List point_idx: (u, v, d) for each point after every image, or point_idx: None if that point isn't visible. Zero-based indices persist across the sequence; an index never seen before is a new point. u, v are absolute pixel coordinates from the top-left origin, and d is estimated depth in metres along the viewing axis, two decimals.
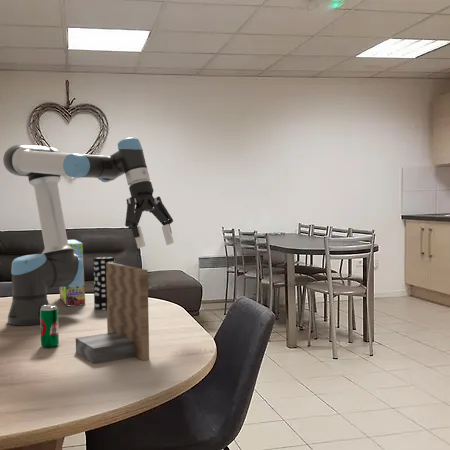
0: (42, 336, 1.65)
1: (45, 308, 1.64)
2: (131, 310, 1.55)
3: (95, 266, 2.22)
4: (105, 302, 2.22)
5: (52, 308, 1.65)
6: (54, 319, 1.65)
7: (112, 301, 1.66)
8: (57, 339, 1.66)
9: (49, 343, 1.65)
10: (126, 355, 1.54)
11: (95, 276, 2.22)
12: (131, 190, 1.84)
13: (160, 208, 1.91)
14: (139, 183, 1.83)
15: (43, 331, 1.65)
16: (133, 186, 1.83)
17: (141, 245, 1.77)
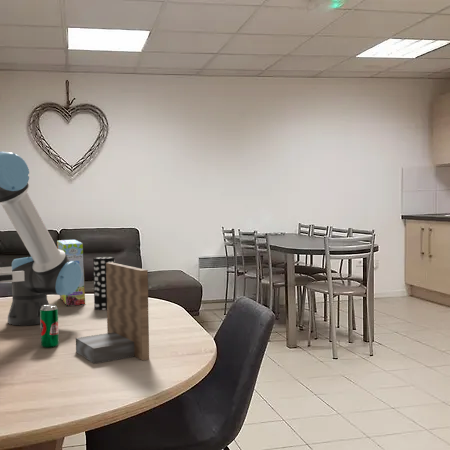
0: (42, 336, 1.65)
1: (45, 308, 1.64)
2: (131, 310, 1.55)
3: (95, 266, 2.22)
4: (105, 302, 2.22)
5: (52, 308, 1.65)
6: (54, 319, 1.65)
7: (112, 301, 1.66)
8: (57, 339, 1.66)
9: (49, 343, 1.65)
10: (126, 355, 1.54)
11: (95, 276, 2.22)
12: None
13: None
14: None
15: (43, 331, 1.65)
16: None
17: None
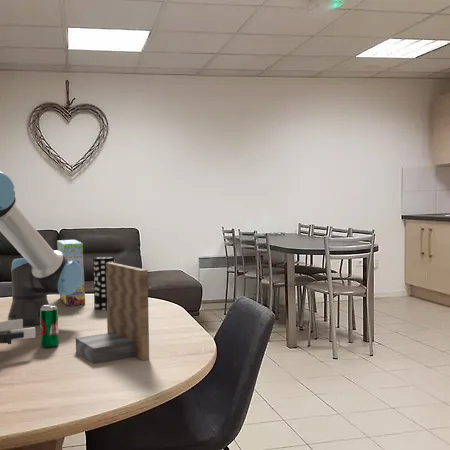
0: (42, 336, 1.65)
1: (45, 308, 1.64)
2: (131, 310, 1.55)
3: (95, 266, 2.22)
4: (105, 302, 2.22)
5: (52, 308, 1.65)
6: (54, 319, 1.65)
7: (112, 301, 1.66)
8: (57, 339, 1.66)
9: (49, 343, 1.65)
10: (126, 355, 1.54)
11: (95, 276, 2.22)
12: None
13: None
14: None
15: (43, 331, 1.65)
16: None
17: None
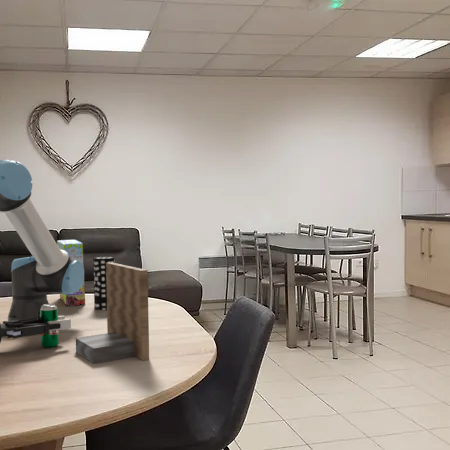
0: (42, 336, 1.65)
1: (45, 308, 1.64)
2: (131, 310, 1.55)
3: (95, 266, 2.22)
4: (105, 302, 2.22)
5: (52, 308, 1.65)
6: (54, 319, 1.65)
7: (112, 301, 1.66)
8: (57, 339, 1.66)
9: (49, 343, 1.65)
10: (126, 355, 1.54)
11: (95, 276, 2.22)
12: None
13: None
14: None
15: None
16: None
17: None
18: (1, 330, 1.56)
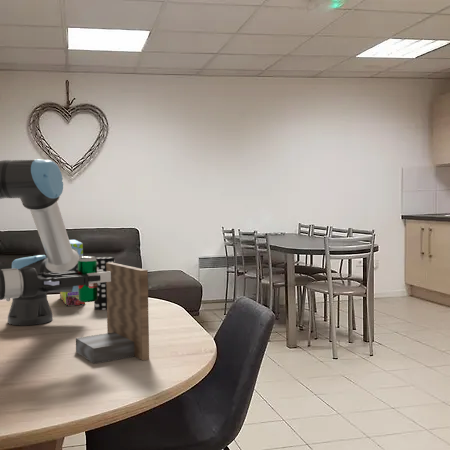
0: (80, 289, 1.52)
1: (83, 259, 1.52)
2: (131, 310, 1.55)
3: None
4: (105, 302, 2.22)
5: (91, 259, 1.52)
6: (93, 271, 1.52)
7: (112, 301, 1.66)
8: (96, 293, 1.54)
9: (88, 296, 1.52)
10: (126, 355, 1.54)
11: None
12: None
13: None
14: None
15: None
16: None
17: None
18: (38, 280, 1.43)
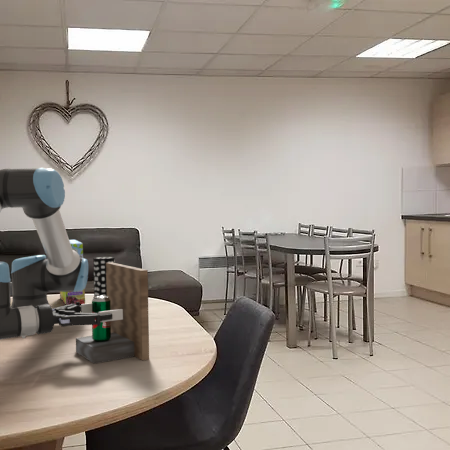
0: (94, 329, 1.55)
1: (98, 299, 1.54)
2: (131, 310, 1.55)
3: (95, 266, 2.22)
4: None
5: (105, 299, 1.55)
6: None
7: (112, 301, 1.66)
8: (109, 332, 1.56)
9: (102, 336, 1.54)
10: (126, 355, 1.54)
11: (95, 276, 2.22)
12: None
13: None
14: None
15: None
16: None
17: None
18: (53, 317, 1.46)
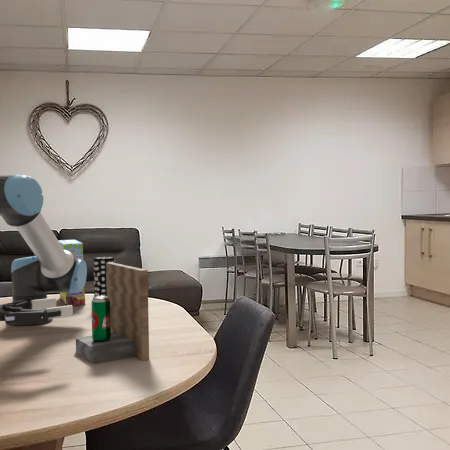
0: (94, 329, 1.55)
1: (97, 299, 1.54)
2: (131, 310, 1.55)
3: (95, 266, 2.22)
4: None
5: (105, 300, 1.55)
6: (107, 312, 1.55)
7: (112, 301, 1.66)
8: (109, 333, 1.56)
9: (102, 336, 1.54)
10: (126, 355, 1.54)
11: (95, 276, 2.22)
12: None
13: None
14: None
15: (95, 324, 1.54)
16: None
17: None
18: None
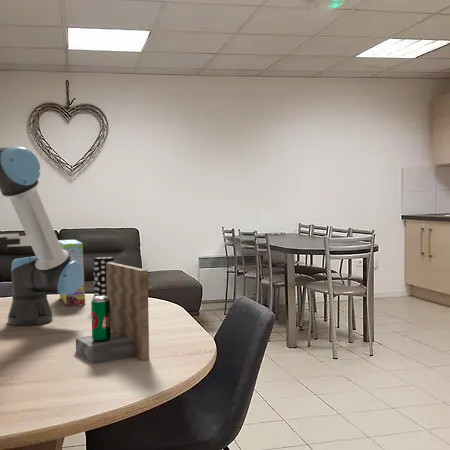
0: (94, 329, 1.55)
1: (97, 300, 1.54)
2: (131, 310, 1.55)
3: (95, 266, 2.22)
4: None
5: (104, 300, 1.55)
6: (107, 312, 1.55)
7: (112, 301, 1.66)
8: (109, 333, 1.56)
9: (102, 336, 1.54)
10: (126, 355, 1.54)
11: (95, 276, 2.22)
12: None
13: None
14: None
15: (95, 324, 1.54)
16: None
17: None
18: None
